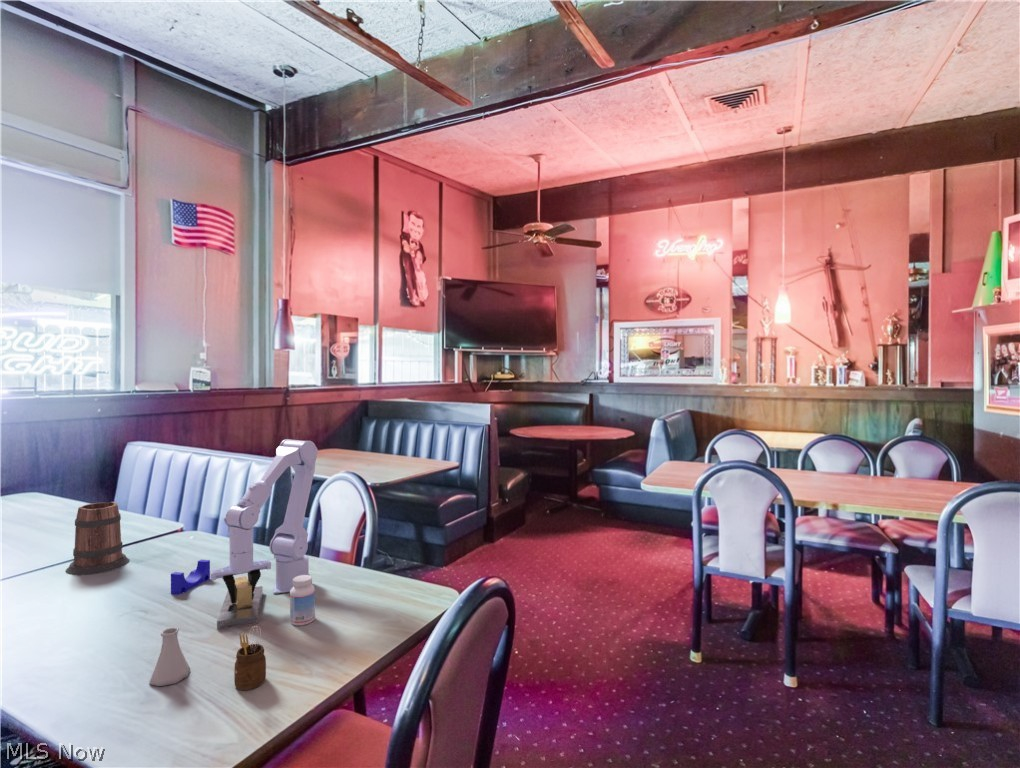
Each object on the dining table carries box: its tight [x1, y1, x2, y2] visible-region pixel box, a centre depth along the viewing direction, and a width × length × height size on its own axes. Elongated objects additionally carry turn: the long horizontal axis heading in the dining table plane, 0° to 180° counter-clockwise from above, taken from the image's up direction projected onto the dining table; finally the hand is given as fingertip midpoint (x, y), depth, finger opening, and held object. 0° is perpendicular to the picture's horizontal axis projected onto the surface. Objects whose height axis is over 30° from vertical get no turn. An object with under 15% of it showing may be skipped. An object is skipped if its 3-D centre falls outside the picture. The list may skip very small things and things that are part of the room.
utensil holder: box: [233, 625, 267, 691], centre depth 111 cm, size 6×6×12 cm
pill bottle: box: [289, 575, 316, 626], centre depth 139 cm, size 6×6×11 cm
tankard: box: [65, 501, 131, 576], centre depth 178 cm, size 24×17×20 cm
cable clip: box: [170, 559, 211, 595], centre depth 161 cm, size 12×4×6 cm, turn 170°
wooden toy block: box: [234, 576, 252, 609], centre depth 145 cm, size 4×8×6 cm, turn 37°
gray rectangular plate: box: [216, 585, 264, 630], centre depth 145 cm, size 9×20×2 cm, turn 21°
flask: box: [148, 626, 191, 687], centre depth 113 cm, size 7×7×10 cm
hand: (241, 600), depth 145 cm, fingers open, 4 cm apart
